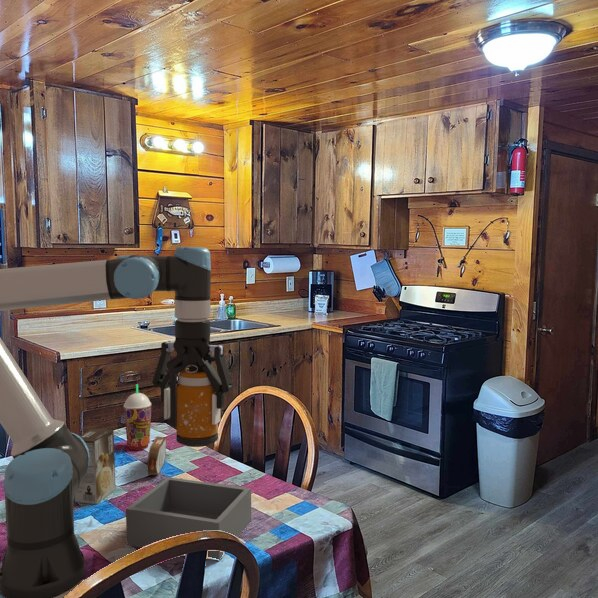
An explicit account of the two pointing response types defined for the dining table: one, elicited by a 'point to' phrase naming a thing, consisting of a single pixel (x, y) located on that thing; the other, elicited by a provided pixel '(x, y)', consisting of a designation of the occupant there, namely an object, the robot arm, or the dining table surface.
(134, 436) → the smoothie
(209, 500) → the bin
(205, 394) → the canister
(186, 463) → the dining table surface
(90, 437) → the coffee box
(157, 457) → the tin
